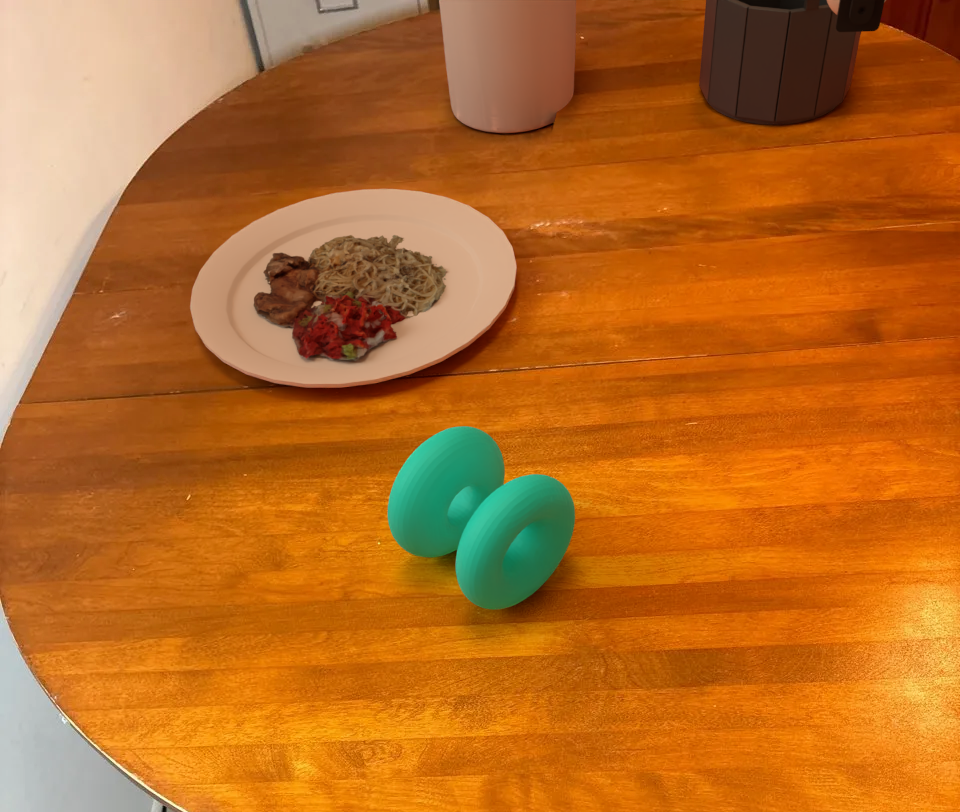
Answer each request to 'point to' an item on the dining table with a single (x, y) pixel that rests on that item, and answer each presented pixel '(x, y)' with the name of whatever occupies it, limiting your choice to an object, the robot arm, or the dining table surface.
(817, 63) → the bin
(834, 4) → the pale pink ball
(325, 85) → the dining table surface
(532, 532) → the teal spool
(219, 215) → the dining table surface
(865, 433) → the dining table surface
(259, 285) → the plated food
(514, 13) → the utensil holder
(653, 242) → the dining table surface
